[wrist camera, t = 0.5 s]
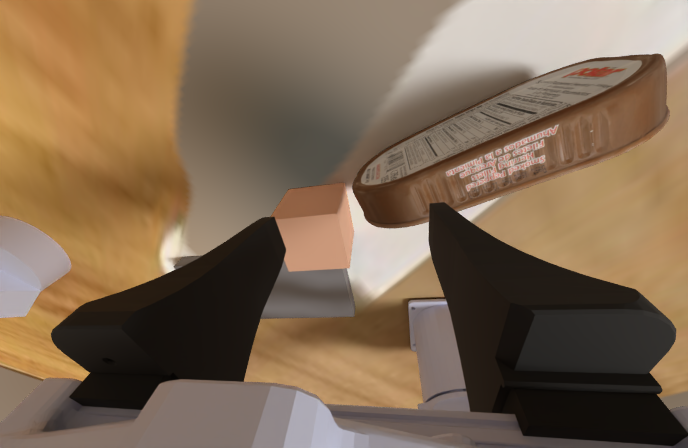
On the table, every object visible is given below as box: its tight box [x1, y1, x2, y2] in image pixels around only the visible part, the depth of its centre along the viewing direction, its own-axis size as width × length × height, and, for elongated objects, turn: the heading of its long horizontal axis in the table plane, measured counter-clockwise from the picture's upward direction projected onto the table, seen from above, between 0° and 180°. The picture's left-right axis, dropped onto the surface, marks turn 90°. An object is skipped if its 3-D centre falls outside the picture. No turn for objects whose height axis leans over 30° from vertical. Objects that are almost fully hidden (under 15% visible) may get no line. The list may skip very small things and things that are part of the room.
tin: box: [352, 54, 670, 228], centre depth 14 cm, size 15×3×8 cm, turn 118°
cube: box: [271, 183, 354, 272], centre depth 21 cm, size 5×5×5 cm
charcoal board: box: [174, 256, 355, 319], centre depth 28 cm, size 9×18×2 cm, turn 100°
